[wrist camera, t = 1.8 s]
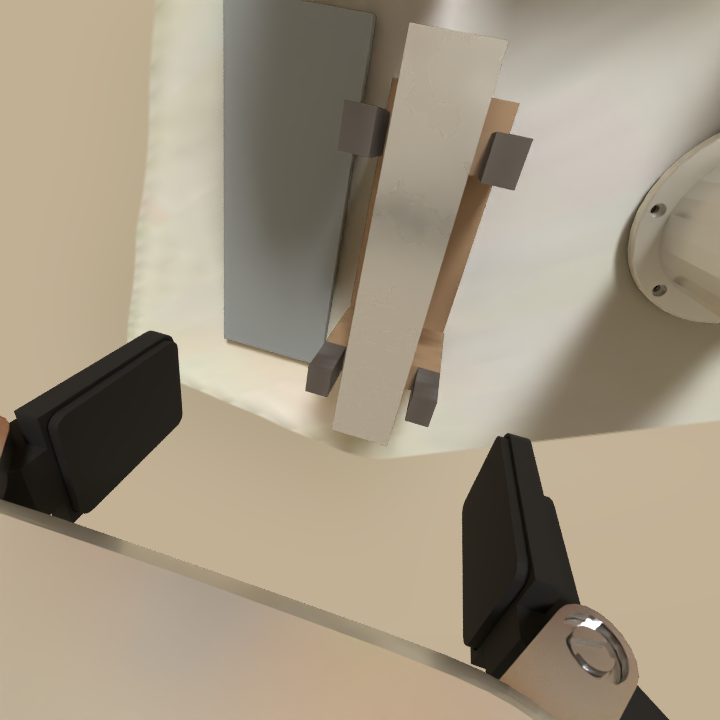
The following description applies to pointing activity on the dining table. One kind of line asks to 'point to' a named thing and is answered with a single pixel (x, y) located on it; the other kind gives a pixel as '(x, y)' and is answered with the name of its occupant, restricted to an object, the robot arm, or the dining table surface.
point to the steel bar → (413, 216)
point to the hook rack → (489, 167)
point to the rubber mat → (286, 165)
